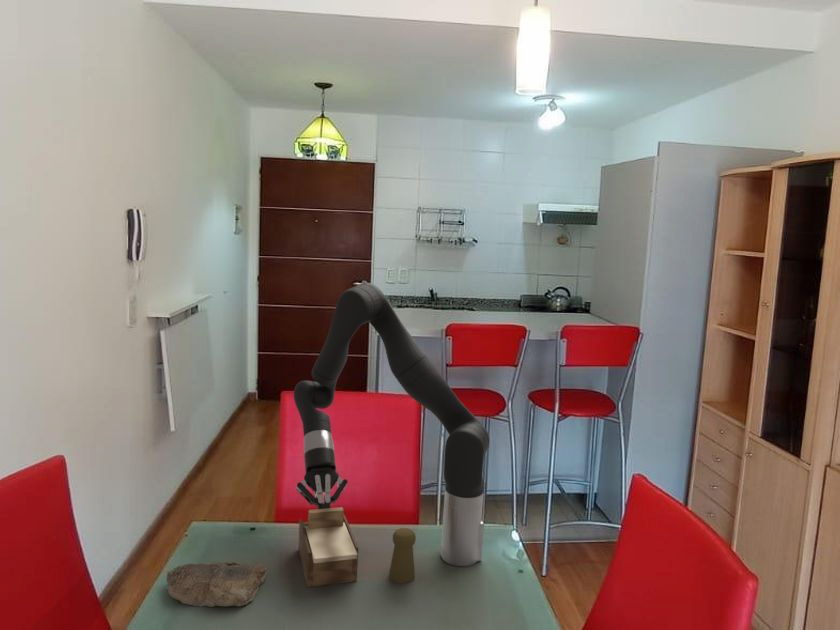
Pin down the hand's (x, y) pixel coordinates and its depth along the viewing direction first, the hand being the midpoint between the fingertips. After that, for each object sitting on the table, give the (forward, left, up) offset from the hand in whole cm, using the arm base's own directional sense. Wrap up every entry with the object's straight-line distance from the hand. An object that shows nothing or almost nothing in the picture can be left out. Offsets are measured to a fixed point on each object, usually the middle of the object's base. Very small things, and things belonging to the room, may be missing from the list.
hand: (325, 520), depth 152 cm
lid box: (0, +4, -9) cm, 10 cm away
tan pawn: (-16, +12, -9) cm, 22 cm away
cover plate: (0, +8, -2) cm, 8 cm away
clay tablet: (+25, +9, -9) cm, 28 cm away
